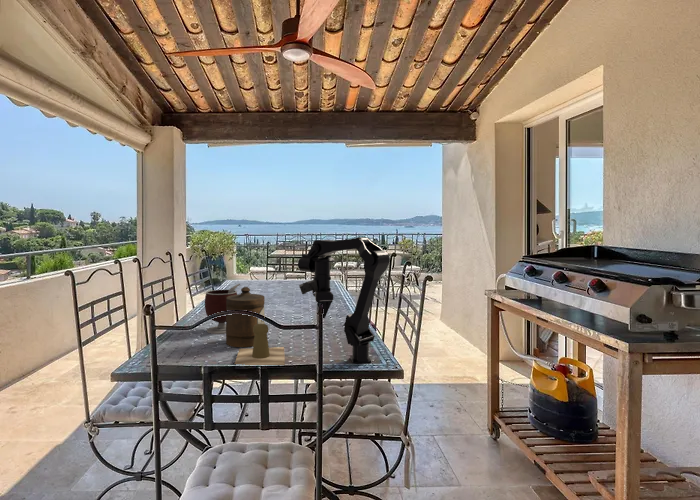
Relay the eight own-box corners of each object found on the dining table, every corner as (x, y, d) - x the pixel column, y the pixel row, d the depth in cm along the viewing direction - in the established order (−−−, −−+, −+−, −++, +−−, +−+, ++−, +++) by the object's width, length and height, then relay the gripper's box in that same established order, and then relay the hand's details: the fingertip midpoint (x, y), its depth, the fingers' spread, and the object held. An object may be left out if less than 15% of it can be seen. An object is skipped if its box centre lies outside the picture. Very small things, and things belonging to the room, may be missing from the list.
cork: (260, 359, 139) (260, 327, 139) (248, 356, 143) (247, 324, 142) (273, 355, 144) (273, 323, 144) (260, 351, 148) (260, 321, 147)
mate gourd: (212, 336, 173) (211, 288, 172) (200, 329, 184) (199, 284, 182) (246, 330, 183) (246, 285, 181) (233, 324, 193) (233, 281, 192)
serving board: (284, 367, 136) (284, 363, 136) (234, 370, 134) (234, 365, 133) (284, 351, 154) (284, 347, 154) (239, 352, 151) (239, 348, 151)
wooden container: (269, 344, 163) (269, 288, 161) (231, 349, 155) (231, 291, 154) (257, 335, 175) (257, 283, 174) (221, 340, 168) (221, 285, 166)
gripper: (299, 271, 162) (299, 310, 163) (301, 277, 144) (301, 321, 145) (327, 270, 164) (327, 310, 165) (333, 276, 146) (333, 320, 147)
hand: (322, 315), depth 155 cm, fingers open, 9 cm apart
